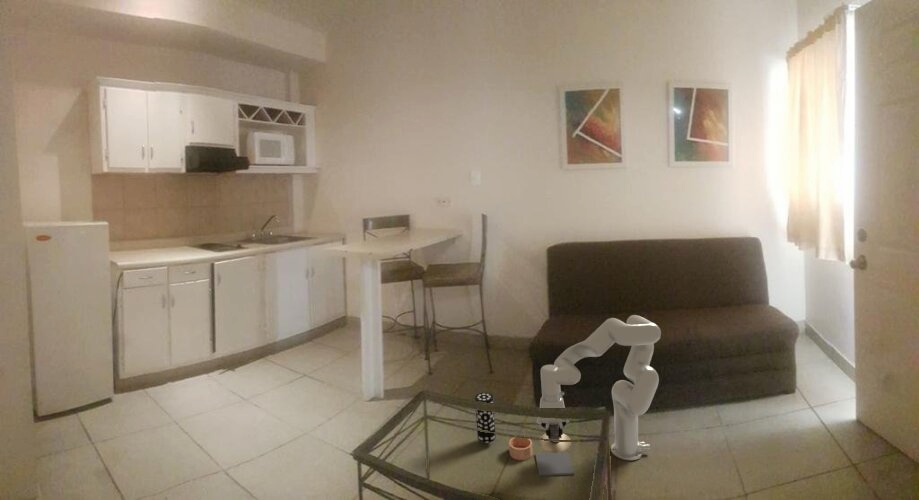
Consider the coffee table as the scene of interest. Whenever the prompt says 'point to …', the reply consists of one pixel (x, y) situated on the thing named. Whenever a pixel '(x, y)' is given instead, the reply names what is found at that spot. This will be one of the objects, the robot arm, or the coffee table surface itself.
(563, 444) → the lid
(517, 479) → the coffee table surface
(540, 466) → the mat
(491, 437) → the white-spotted black cylinder
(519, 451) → the bowl
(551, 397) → the robot arm
